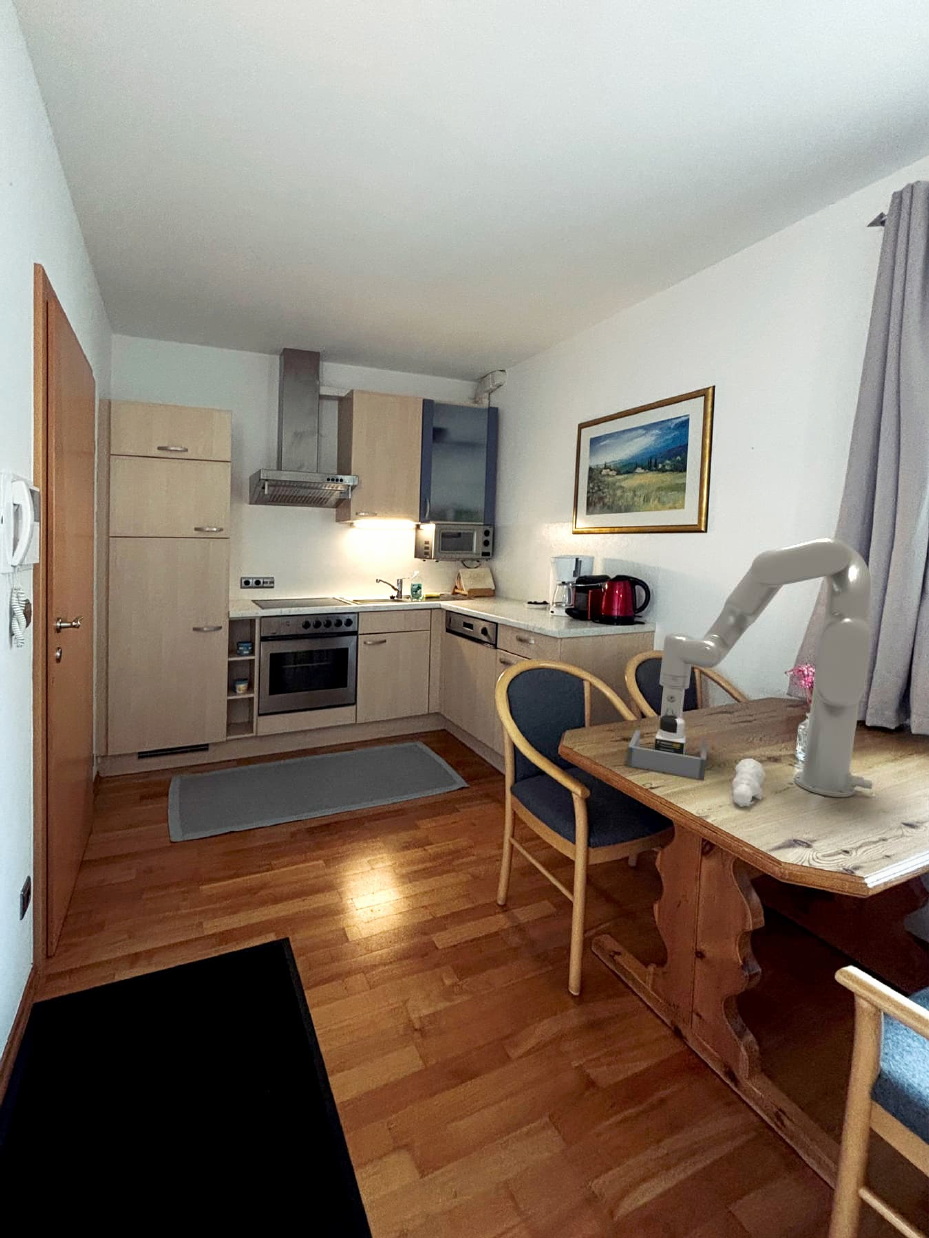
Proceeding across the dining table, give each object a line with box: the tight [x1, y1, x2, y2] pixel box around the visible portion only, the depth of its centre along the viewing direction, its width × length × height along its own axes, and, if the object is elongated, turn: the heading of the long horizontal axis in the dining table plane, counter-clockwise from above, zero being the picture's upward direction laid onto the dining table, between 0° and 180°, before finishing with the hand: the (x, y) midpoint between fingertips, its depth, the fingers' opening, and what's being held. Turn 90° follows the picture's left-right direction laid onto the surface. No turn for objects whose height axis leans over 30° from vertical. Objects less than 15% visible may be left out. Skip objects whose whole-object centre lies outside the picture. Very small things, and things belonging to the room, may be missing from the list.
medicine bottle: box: [653, 715, 687, 755], centre depth 157 cm, size 7×7×12 cm
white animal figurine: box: [730, 758, 766, 808], centre depth 135 cm, size 6×8×12 cm
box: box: [626, 729, 708, 781], centre depth 157 cm, size 18×15×5 cm
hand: (666, 745), depth 164 cm, fingers closed
